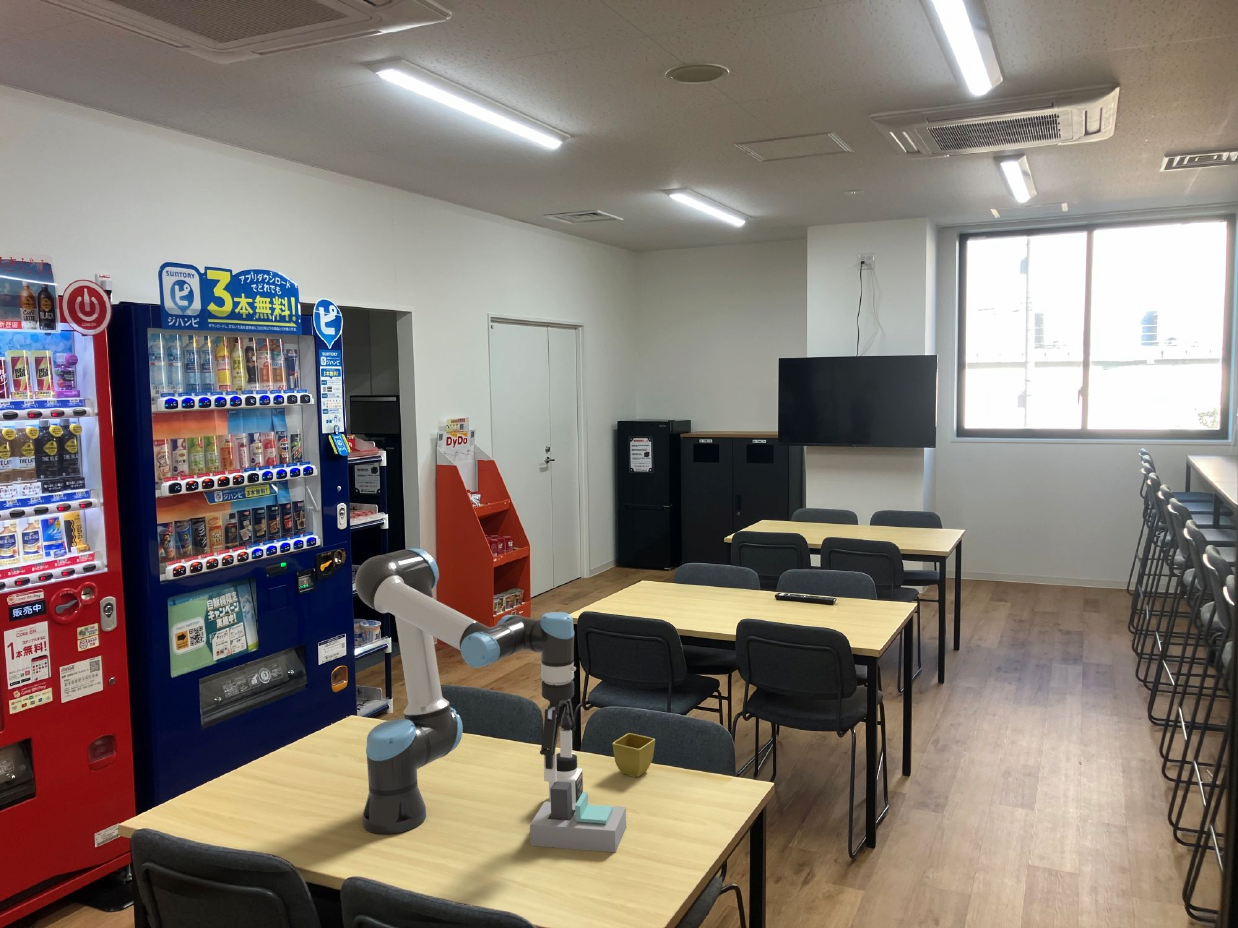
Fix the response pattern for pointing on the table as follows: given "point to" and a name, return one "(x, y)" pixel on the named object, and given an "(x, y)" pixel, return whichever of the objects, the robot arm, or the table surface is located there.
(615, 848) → the socket
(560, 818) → the plug
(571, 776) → the medicine bottle
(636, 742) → the flower pot
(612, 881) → the table surface
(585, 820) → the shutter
